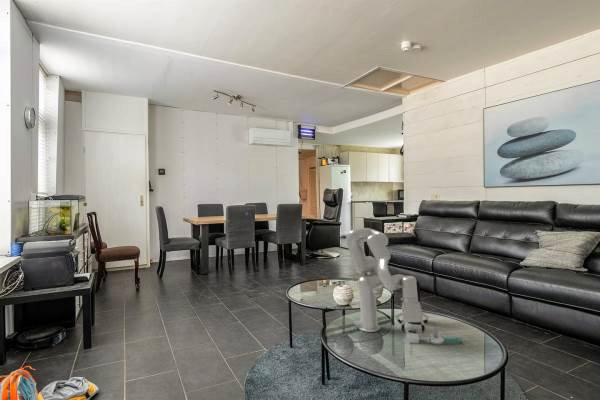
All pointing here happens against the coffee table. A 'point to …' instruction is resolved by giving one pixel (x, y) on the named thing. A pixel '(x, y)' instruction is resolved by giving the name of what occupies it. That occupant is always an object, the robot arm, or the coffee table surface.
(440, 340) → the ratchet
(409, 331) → the hollow white cube
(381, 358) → the coffee table surface
